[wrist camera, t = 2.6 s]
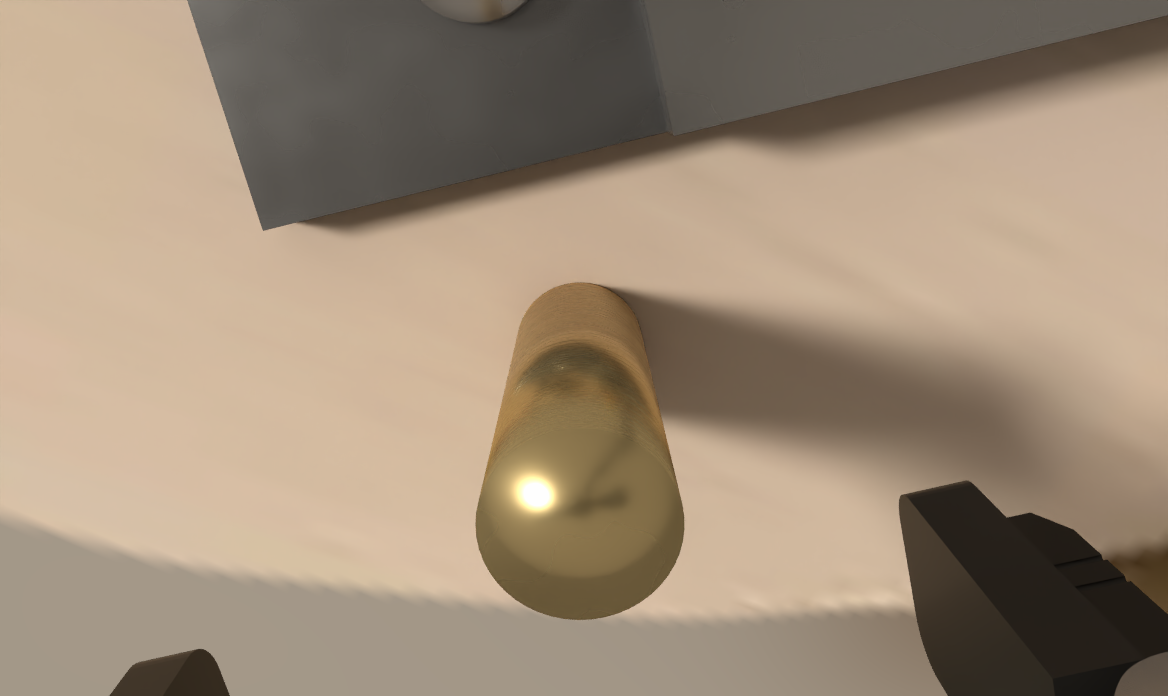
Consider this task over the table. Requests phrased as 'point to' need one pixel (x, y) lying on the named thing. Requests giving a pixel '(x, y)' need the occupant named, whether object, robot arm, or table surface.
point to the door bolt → (560, 76)
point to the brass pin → (579, 464)
